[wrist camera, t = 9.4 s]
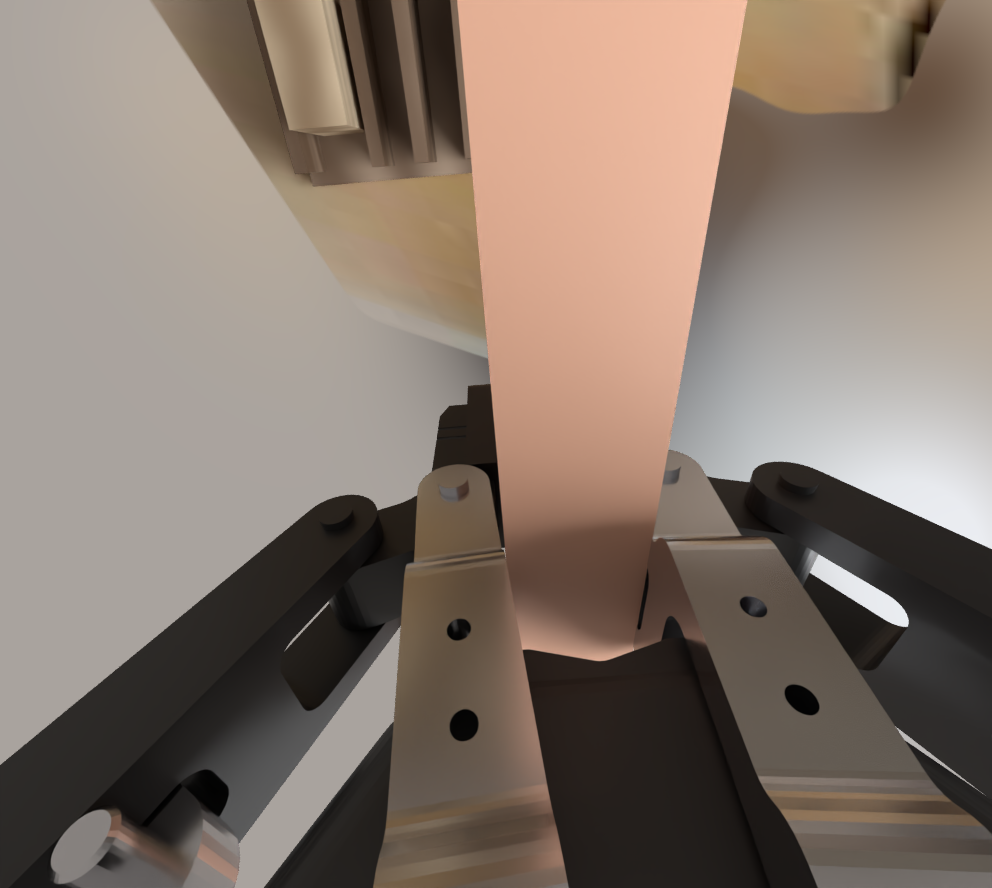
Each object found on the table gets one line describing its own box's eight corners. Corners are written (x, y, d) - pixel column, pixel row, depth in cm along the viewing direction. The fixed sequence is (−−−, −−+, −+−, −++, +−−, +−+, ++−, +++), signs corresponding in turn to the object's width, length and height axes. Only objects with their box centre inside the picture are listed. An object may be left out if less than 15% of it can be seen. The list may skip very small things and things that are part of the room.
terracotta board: (518, 20, 16) (1108, -2058, 1) (532, 457, 27) (601, 827, 12) (464, 25, 16) (288, -1946, 1) (500, 460, 27) (530, 832, 12)
